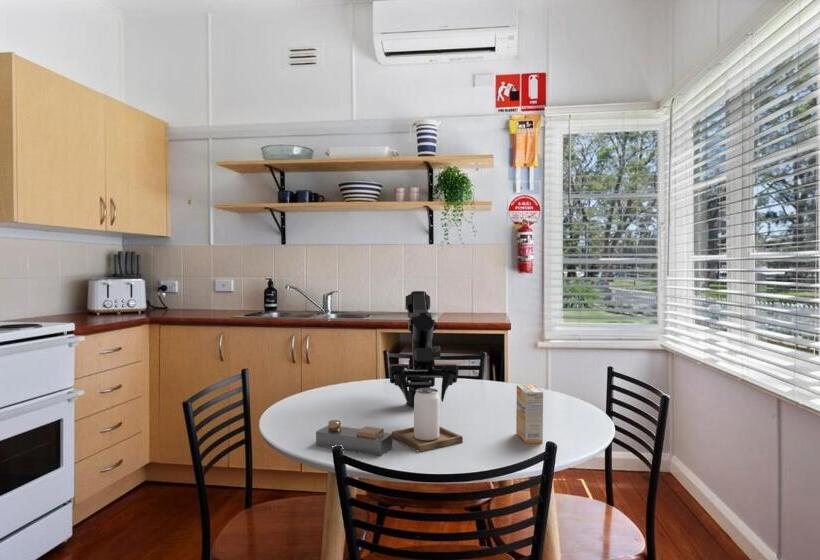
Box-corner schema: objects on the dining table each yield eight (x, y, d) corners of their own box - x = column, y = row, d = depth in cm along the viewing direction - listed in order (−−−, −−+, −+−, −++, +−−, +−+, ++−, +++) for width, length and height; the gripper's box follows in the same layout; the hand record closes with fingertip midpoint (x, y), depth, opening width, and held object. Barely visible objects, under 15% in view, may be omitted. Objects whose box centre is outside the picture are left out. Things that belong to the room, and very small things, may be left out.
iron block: (315, 445, 131) (315, 423, 131) (329, 438, 137) (328, 416, 137) (381, 456, 124) (381, 432, 124) (392, 447, 130) (392, 425, 130)
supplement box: (515, 433, 141) (515, 384, 141) (533, 433, 142) (533, 383, 141) (524, 443, 133) (525, 391, 132) (543, 443, 133) (543, 391, 133)
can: (442, 440, 134) (442, 392, 133) (417, 442, 132) (417, 394, 132) (434, 432, 140) (435, 386, 139) (411, 434, 138) (411, 388, 138)
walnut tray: (432, 428, 145) (432, 423, 145) (462, 442, 134) (462, 436, 134) (391, 437, 138) (391, 431, 138) (419, 452, 127) (419, 445, 127)
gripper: (389, 335, 146) (390, 385, 135) (457, 335, 147) (463, 384, 136) (389, 358, 154) (389, 407, 144) (454, 358, 155) (458, 406, 144)
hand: (425, 401), depth 142 cm, fingers open, 9 cm apart
